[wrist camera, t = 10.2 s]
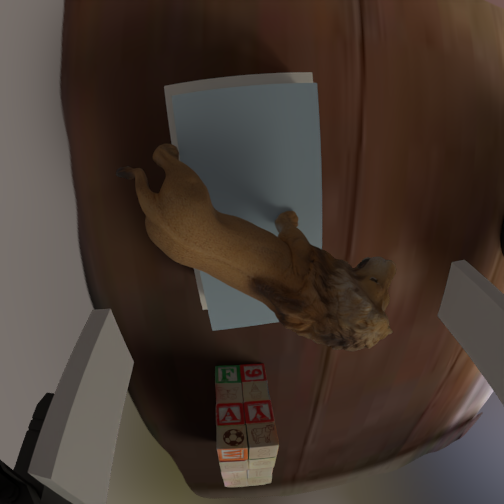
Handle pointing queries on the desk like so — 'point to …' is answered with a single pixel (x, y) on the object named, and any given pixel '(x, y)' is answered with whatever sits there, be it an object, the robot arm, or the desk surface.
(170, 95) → the two-tone layered slab
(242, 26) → the desk surface
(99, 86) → the desk surface
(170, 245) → the lion figurine
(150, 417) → the desk surface
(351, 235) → the desk surface
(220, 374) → the stack of blocks
